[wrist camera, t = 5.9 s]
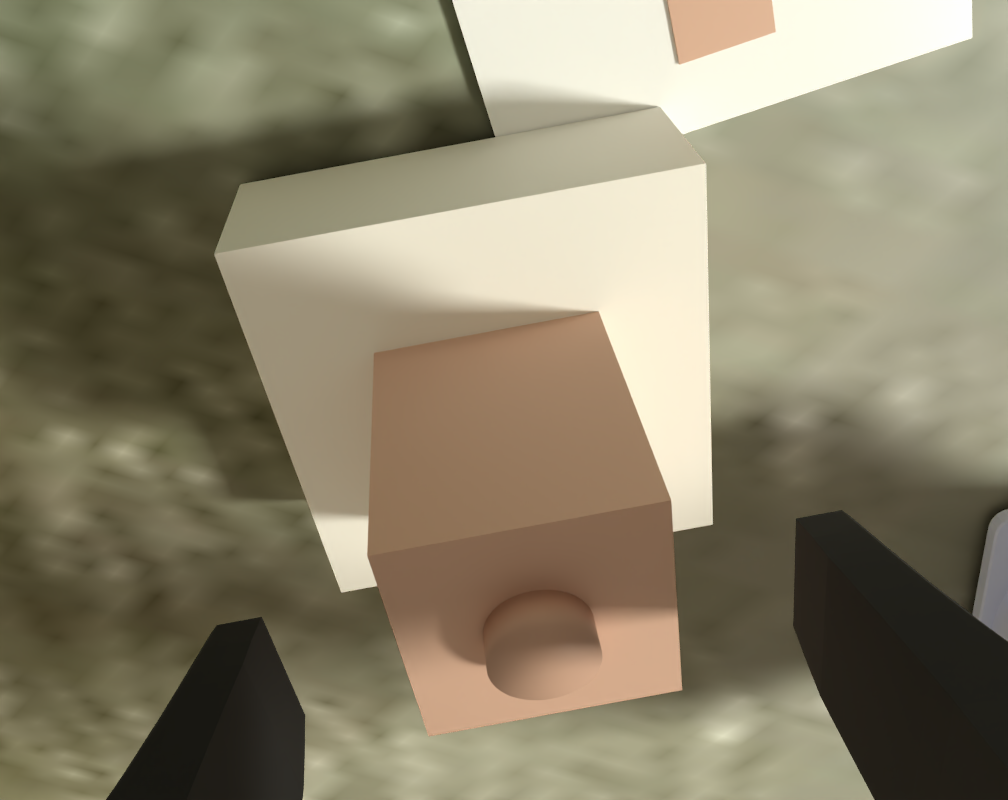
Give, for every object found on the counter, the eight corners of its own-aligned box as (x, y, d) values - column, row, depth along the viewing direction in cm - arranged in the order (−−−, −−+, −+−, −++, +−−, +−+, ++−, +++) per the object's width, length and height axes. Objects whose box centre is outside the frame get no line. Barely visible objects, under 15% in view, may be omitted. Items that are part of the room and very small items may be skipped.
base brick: (659, 106, 17) (706, 163, 14) (675, 438, 21) (712, 524, 19) (239, 184, 17) (214, 253, 14) (346, 499, 21) (341, 592, 19)
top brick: (598, 311, 16) (683, 532, 11) (616, 482, 18) (692, 724, 13) (373, 353, 16) (366, 590, 11) (420, 518, 18) (429, 771, 13)
